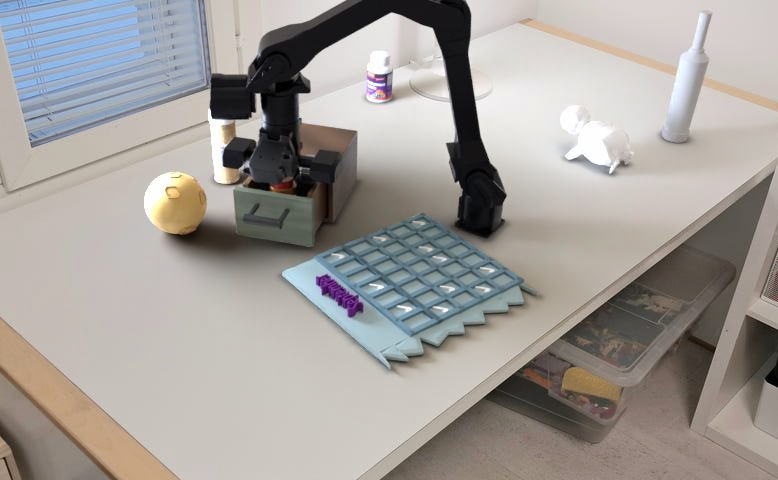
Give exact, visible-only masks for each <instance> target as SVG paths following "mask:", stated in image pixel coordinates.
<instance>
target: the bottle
mask: <svg viewBox="0 0 778 480" xmlns="http://www.w3.org/2000/svg"><path fill="white" fill-rule="evenodd" d="M712 17H713V12H712V11H710V10H705V9H704V10H701V11H700V13H699V17H698V21H697V25H696V29H695V33H694V38H693V40H692V41H693V42H692V45H691V46H690V47H689V49H688V50H686V51H684V52H683V53H681V54H680V55H679V62H678V66H677V71H676V73H675V74H676V75H675V79H674V84H673V88H672V93H671V97H670V101H669V106H668V111H667V114H666V119H665V123H664V125H663V127H662V131H661V135H662V136H661V137H662V138H663V139H664V140H666V141H668V142H671V143H674V144H675V143H677V144H678V143H681V144H682V143H685V142H686V141H687V140H688V139H689V136H690V134H691V130H690V128H691V124H692V120H693V117H694V114H695V110H696V107H697V103H698V100H699V97H700V93H701V89H702V87H703V83H704V79H705V76H706V73H707V69H708V65H709V62H710V58H709V56H708V55H707V54H706V52H705V48H704V47H705V43H706V38H707V35H708V31H709V27H710V24H711V20H712Z"/></svg>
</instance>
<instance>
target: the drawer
mask: <svg viewBox="0 0 778 480" xmlns="http://www.w3.org/2000/svg"><path fill="white" fill-rule="evenodd" d="M299 173H300V171H299V169H297V171H296V173H295V176H294V177H293V179H294V180H295V179H296V177H297V176H298V174H299ZM232 192H233V194H232V195H233V205H234V217H235V230H236V235H238V236H245V237H250V238H251V237H252V238H256V239H261V240H268V241H272V242H279V243H284V244H285V243H286V244H290V245H291V244H292V245H296V246H297V245H298V246H302V247H303V246H304V247H309V248H313V247H314V245H315V243H316V242H315V241H316V239H315V235H316V233H317V231H318V229H319V228H320V226H321V225H322V223H323V222H322V221H323V219H324V218H325V216H326V214H327V213H328V211H329V206H328V183H322V182H314V183H313V184H309V186H308V189H307V191H306V194H305V197H301V196H294V195H288V194H282V193H276V192H269V191H263V190H261V189H260V187H259V185H258V183H257V182H255V181H253V179H252V177H251V176H250V175H248V177H247V178H246V180H245V181H244V182H243V186H238V185H236V186H234V188H233V189H232Z"/></svg>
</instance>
